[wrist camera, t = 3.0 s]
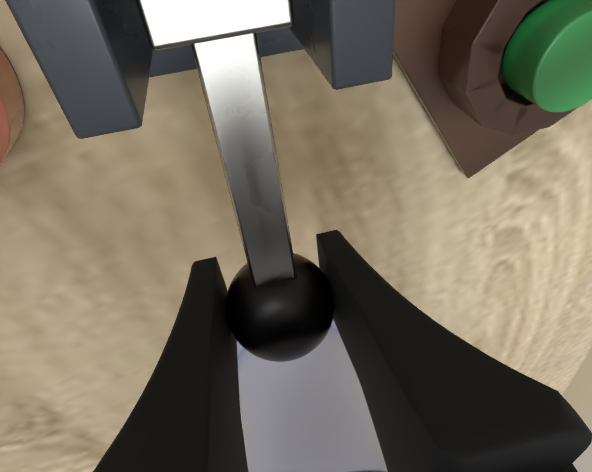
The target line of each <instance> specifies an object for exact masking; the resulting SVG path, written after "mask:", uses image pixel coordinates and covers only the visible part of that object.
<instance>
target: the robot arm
mask: <svg viewBox="0 0 592 472" xmlns="http://www.w3.org/2000/svg"><path fill="white" fill-rule="evenodd" d="M316 237H317V248H318V258H319V268H320V270H321V271H322V272H323V273H324V275H325V276H326V278H327V280H328V282H329V284H330V286H331V289H332V292H333V297H334V317H333V321H332V324H331V327H330V329H329V331H328V333H327V335H326V337H325V338H324V340H323V341H322V342H321V343H320V344H319V346H318V347H316V348H315V349H314V350H313V351H311V352H310V353H309V354H307V355H305V356H303V357H301V358H298V359H295V360H292V361H286V362H274V361H268V360H264V359H261V358H259V357H257V356H255V355H253V354H251V353H250V352H248V351H247V350H246V349H244V348H243V347H242V346H241V345H240V344H239V342H238V341H237V340H236V338H235V337H234V335H233V334H232V332H231V329H230V327H229V324H228V321H227V315H226V298H227V293H228V291H227V288H226V285H225V282H224V279H223V276H222V273H221V270H220V267H219V264H218V261H217V258H216V257H213V258H208V259H204V260H199V261H195V262H194V263H193V265H192V268H191V272H190V276H189V280H188V284H187V288H186V291H185V294H184V297H183V301H182V304H181V307H180V309H179V312H178V315H177V318H176V321H175V323H174V326H173V329H172V331H171V334H170V336H169V338H168V341H167V343H166V345H165V348H164V350H163V353H162V355H161V357H160V359H159V361H158V363H157V366H156V368H155V370H154V372H153V374H152V376H151V378H150V380H149V382H148V384H147V386H146V387H145V389H144V391H143V393H142V395H141V397H140V398H139V400H138V402H137V404H136V405H135V407H134V409H133V411H132V412H131V414H130V416H129V418H128V419H127V421H126V422H125V424H124V426H123V427H122V429H121V431H120V432H119V434H118V435H117V437H116V438H115V440H114V441H113V443H112V444H111V446H110V447H109V449H108V450H107V452H106V453H105V455H104V456H103V458H102V459H101V461H100V462H99V464H98V465H97V467H96V468H95V470H94V471H93V472H578V471H577V470H576V468H575V467H574V465H573V464H572V463H573V462H574V461H575V460H576V459H577V458H578V457H579V456H580V455H581V454H582V453H583V452H584V451H585V450H586V449H587V447H588V446H589V445H590V444H591V441H592V433H591V431H590V430H589V428H588V427H587V426H586V424H585V423H584V422H583V420H582V419H581V418H580V416H579V415H578V414H577V412H576V411H575V410H574V409H573V408H572V406H571V405H570V404H569V403H568V402H567V401H566V400H565V399H564V398H563V397H562V395H561V394H560V393H559V392H558V391H556V390H554V389H552V388H550V387H548V386H546V385H544V384H542V383H540V382H538V381H536V380H534V379H532V378H530V377H528V376H525V375H523V374H522V373H520V372H518V371H516V370H514V369H512V368H510V367H508V366H506V365H505V364H503V363H501V362H499V361H497V360H496V359H494V358H492V357H490V356H488V355H487V354H485V353H483V352H482V351H480V350H479V349H477V348H475V347H474V346H472V345H471V344H469V343H467V342H466V341H464V340H462V339H461V338H459V337H458V336H456V335H454V334H453V333H451V332H450V331H448V330H447V329H446V328H444V327H443V326H441V325H440V324H438V323H437V322H435V321H434V320H433V319H431V318H430V317H429V316H427V315H426V314H425V313H423V312H422V311H421V310H419V309H418V308H417V307H416V306H414V305H413V304H412V303H411V302H409V301H408V300H407V299H406V298H405V297H403V296H402V295H401V294H400V293H399V292H398V291H396V290H395V289H394V288H393V287H392V286H391V285H390V284H389V283H388V282H386V281H385V280H384V279H383V278H382V277H381V276H380V275H379V274H378V273H377V272H376V271H375V270H374V269H373V268H372V267H371V266H370V265H369V264H368V263H367V262H366V261H365V260H364V259H363V258H362V257H361V256H360V255H359V254H358V253H357V251H356V250H355V249H354V248H353V247H352V246H351V245H350V244H349V242H348V241H347V240H346V239H345V238H344V236H343V235H342V234H341V233H340V232H339V231H338V230H333V231H329V232H324V233H320V234H316ZM239 396H240V400H239ZM240 405H241V413H240ZM241 414H242V423H243V430H242V423H241ZM243 431H244V437H243ZM244 440H245V444H244ZM245 449H246V451H245ZM246 457H247V458H246Z"/></svg>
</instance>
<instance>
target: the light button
mask: <svg viewBox="0 0 592 472" xmlns="http://www.w3.org/2000/svg"><path fill="white" fill-rule="evenodd" d="M503 75H504V78H505V81H506V83H507V85H508V86H509V87H510V88H511V89H512V90H513V91H515V92H516V93H518V94H520V95H521V96H523V97H524V98H526V99H527V100H529V101H531V102H532V103H534V104H535V105H537V106H538V107H540V108H542V109H543V110H545V111H549V112H565V111H569V110H573V109H575V108H577V107H580V106H582V105H583V104H585V103H587V102H588V101H590V100H591V99H592V0H548V1H546V2H545V3H543V4H541V5H540V6H538V7H537V8H536V9H534V10H533V11H532V12H531V13H530V14H529V15H528V16H527V17H526V18H525V19H524V20H523V21H522V22H521V24H520V25H519V26H518V27H517V29H516V30H515V32H514V33H513V35H512V37H511V39H510V41H509V43H508V45H507V48H506V51H505V54H504V59H503Z"/></svg>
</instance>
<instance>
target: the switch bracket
mask: <svg viewBox="0 0 592 472" xmlns="http://www.w3.org/2000/svg"><path fill="white" fill-rule="evenodd" d="M5 1H6V2H7V4H8V6H9V8H10V10H11V12H12V14H13V16H14V18H15V20H16V22H17V24H18V26H19V27H20V29H21V31H22V33H23V35H24V37H25V39H26V41H27V43H28V45H29V47H30V49H31V51H32V52H33V54H34V56H35V58H36V60H37V62H38V64H39V66H40V68H41V70H42V72H43V74H44V76H45V77H46V79H47V81H48V83H49V85H50V87H51V89H52V91H53V93H54V95H55V97H56V99H57V101H58V102H59V104H60V106H61V108H62V110H63V112H64V114H65V116H66V118H67V120H68V122H69V124H70V126H71V127H72V129H73V131H74V133H75V135H76V136H77V138H79V139H83V138H89V137H94V136H99V135H104V134H109V133H114V132H119V131H125V130H130V129H135V128H139V127H140V126H142V121H143V114H144V108H145V101H146V95H147V88H148V82H149V77H154V76H159V75H165V74H170V73H176V72H181V71H187V70H192V69H197V66H196V62H195V58H194V55H193V51H192V47H191V45H185V46H180V47H174V48H168V49H163V50H154V49H152V48H151V46H150V45H149V42H148V39H147V35H146V32H145V29H144V26H143V23H142V20H141V17H140V14H139V10H138V7H137V4H136V1H135V0H5ZM292 2H293V11H294V23H293V25H291V26H290V27H286V28H280V29H275V30H269V31H263V32H258V33H256V35H257V41H258V47H259V53H260V57H263V56H268V55H273V54H279V53H284V52H290V51H295V50H301V49H305V51H306V52H307V53H308V55H309V56H310V58H311V59H312V60H313V62H314V63H315V64H316V66H317V67H318V69H319V70H320V71H321V73H322V74H323V75H324V77H325V78H326V80H327V81H328V82H329V84H330V85H331V86H332V88H333V89H336V90H337V89H342V88H347V87H353V86H358V85H363V84H368V83H373V82H378V81H383V80H389V79H390V78H391V77H392V61H393V42H394V23H395V4H396V0H292Z"/></svg>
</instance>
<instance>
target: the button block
mask: <svg viewBox="0 0 592 472" xmlns="http://www.w3.org/2000/svg"><path fill="white" fill-rule="evenodd" d="M546 1H548V0H396V4H395V23H394V42H393V56H394V58H395V59H396V61H397V63H398V65H399V66H400V68H401V70H402V71H403V73H404V75H405V76H406V78H407V80H408V82H409V83H410V85H411V87H412V88H413V90H414V92H415V93H416V95H417V97H418V98H419V100H420V102H421V104H422V105H423V107H424V109H425V110H426V112H427V114H428V115H429V117H430V119H431V121H432V122H433V124H434V126H435V127H436V129H437V131H438V132H439V134H440V136H441V137H442V139H443V141H444V143H445V144H446V146H447V148H448V149H449V151H450V153H451V154H452V156H453V158H454V159H455V161H456V163H457V165H458V166H459V168H460V170H461V171H462V173H463V174H464V175H465V176H466V177H467V178H470V177H471V176H473V175H474V174H476V173H477V172H478V171H480V170H481V169H483V168H484V167H486V166H487V165H489V164H490V163H492V162H493V161H494V160H496V159H497V158H499V157H500V156H502V155H503V154H505V153H506V152H507V151H509V150H510V149H512V148H513V147H515V146H516V145H518V144H519V143H520V142H522V141H523V140H525V139H526V138H528V137H529V136H531V135H532V134H534V133H535V132H536V131H538V130H539V129H543V128H547V127H550V126H551V125H553V124H555V123H556V122H558V121H559V120H560V119H562V118H563V117H565V116H566V115H568V114H569V113H571V112H572V111H574V110H575V109H576V108H575V109H573V110H569V111H565V112H549V111H545V110H543V109H542V108H540V107H538V106H537V105H535V104H534V103H532V102H531V101H529V100H527V99H526V98H524V97H523V96H521V95H520V94H518V93H516V92H515V91H513V90H512V89H511V88H510V87H509V86H508V85H507V83H506V81H505V78H504V75H503V59H504V54H505V51H506V48H507V45H508V43H509V41H510V39H511V37H512V35H513V33H514V32H515V30H516V29H517V27H518V26H519V25H520V24H521V22H522V21H523V20H524V19H525V18H526V17H527V16H528V15H529V14H530V13H531V12H532V11H533V10H534V9H536V8H537V7H538V6H540V5H541V4H543V3H545V2H546ZM577 108H578V107H577Z"/></svg>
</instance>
